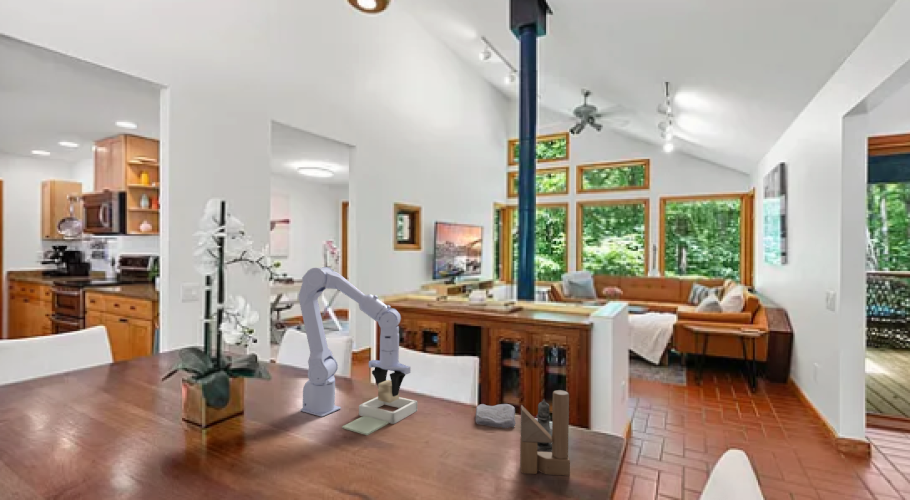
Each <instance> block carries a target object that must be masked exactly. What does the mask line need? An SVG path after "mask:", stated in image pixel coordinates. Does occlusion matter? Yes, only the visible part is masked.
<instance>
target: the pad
mask: <svg viewBox="0 0 910 500" xmlns="http://www.w3.org/2000/svg"><path fill="white" fill-rule="evenodd" d="M387 425H389V423H388V422H387V421H383V420H379V419H375V418H371V417H367V416H361V417H359V418H357V419H355V420H352V421H350V422H349V423H346V424H344V425H342V427H341V428H342V429H344V430H347V431H351V432H354V433H358V434H360V435H365V436H369V435H371V434H373V433H374V432H376V431H378V430H379V429H382V428H383V427H385V426H387Z"/></svg>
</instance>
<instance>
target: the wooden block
mask: <svg viewBox="0 0 910 500" xmlns="http://www.w3.org/2000/svg"><path fill="white" fill-rule="evenodd" d="M569 404H570V393H569V391H566V390H563V389H562V390H561V389H558V390H553V391H552V413H551V414H552V415H551V416H552V417H551V418H552V419H551V420H552V423H551V424H552V426H551V427H552V428H551V429H552V437H551V435H550V434H549V433H548V432H547V431H546V430H545V429H544V428H543V427H542V426H541V425H540V423H539V422H538V419H536V418H535V417H534V416H533V415H532V414H531V413H530V412H529V410H528V409H527V408H526V407H524V405H523V404H521V405H520V444H519V445H520V448H519V449H520V451H519V457H520V459H519V467H520V472H521V474H528V475H536V474H538V472H540V473H542V474H544V475H549V476H564V477H565V476H566V477H567V476H570V475H571V460H570V457H569V427H570V425H569V424H570V422H569V421H570V420H569V419H570V417H569V416H570V414H569V413H570V411H569V409H570V405H569ZM537 442H545V443H552V449H551V451H538V449H537V448H538V443H537Z"/></svg>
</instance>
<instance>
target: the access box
mask: <svg viewBox="0 0 910 500" xmlns="http://www.w3.org/2000/svg"><path fill="white" fill-rule="evenodd" d="M384 405H385V406H390V407H394V408H398V409H396V410H393V411H391V410H387V409H382V408H380V407H382V406H384ZM416 412H418V400H415V399H410V398H405V397H401V396H399V399H397V400H395V401H393V402H391V403H388V402H384V401H379V400H378V396H376V397H374V398H372V399H370V400H368V401H365V402H363V403H361V404H358V416H361V417H363V416H367V417H371V418H375V419H379V420H383V421H387V422H388V424H391V425H394V424H397V423H398V422H400V421H402V420H403V419H405V418H407V417H409V416H410V415H412V414H414V413H416Z"/></svg>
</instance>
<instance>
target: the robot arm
mask: <svg viewBox="0 0 910 500" xmlns="http://www.w3.org/2000/svg"><path fill="white" fill-rule="evenodd" d="M301 279H302V280H301V281H302V283H301V286H300V289H299V293H298V301H299V306H300V311H301V315H302V320H303V324H304V325H303V326H304V329H305V334H306V339H307V342H308V343H307V344H308V349H309V351H310V352H309V357H308V360H307V363H308V370H307V378H308V380H307V381H306V382H304V383H305V384H304V385H303V389H302V408H300V410H299V411H300V412H303V413H307V414H311V415H315V416H318V417H325V416H327V415H330V414H332V413H334V412H336V411H338V410H340V409H342V408H341V406H338V405H336V404H335V403H336V378H335V374H336V373H337V372H338V368H339V367H338V366H339V365H338V362H337V360H336V359H335V357H334V355H333V351H332V350H331V349H330V348H329V346H328V343H327V337H326V332H325V328H324V324H323V319H322V318H323V317H322V314H321V309H320V305H319V300H318V299H319V297H320V296H321V295H322V293H323V292H324V291H325V290H326V289H333V290H338V291H340V292H341V293H342V294H343V295H346V296H347V297H349V298H350V299H352V300H353V301H354V302H355V303H358V307H359V310H360V311H362V312H363V313H364V314H366V315H367V316H368V317H370V318H371V319H372V320H374V321H376V322H377V323H378V326H379V327H380V334H379V335H380V336H379V360H378V359H372V360H369V361H368V368H370V369H372V368H373V369H372V371H371V374H372V375H373V377H374V379H375V381H376V384H377V386H378V384H379V383H381V382H384V381H386V380H387V375H388V372H389V371H392V372H391V373H389V378H390V380H391V382H392V396H397V395H398V393H399V394H400V388H401V385H402V383H403V380H404V378H405V377H406V376H407V375H408V374H410V373H411V366H410V365H406V364H403V363H400V360H399V359H400V355H399V354H400V351H399V350H400V333H399V331H400V326H399V324H400V323H401V320H402V316H401V314H400V312H399V311H398V310H397V309H396V308H392V307H391V305H390V304H385V302H383V301H381V300H380V299H379V296H378V295H377V294H374V295H373V294H371V293H370V294H365V293H364V292H362V290H360V289H359V288H357V287H356V286H355V285H354V284H353V283H352V282H350V281H349V280H348V279H346V278H345V277H344V276H343V275H342V274H340V273H339V272H337V271H336V270H333V269H332V268H331V267H329V266H322V267H312V268H310V269H308V270H307V272H305V274H303V276H302V278H301Z"/></svg>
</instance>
